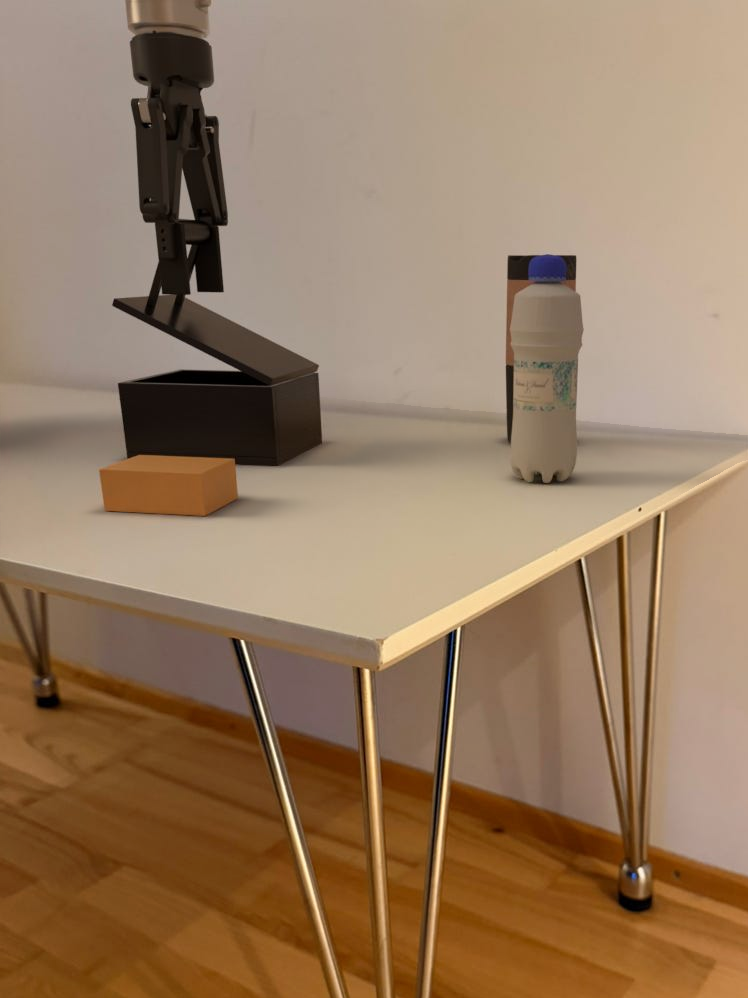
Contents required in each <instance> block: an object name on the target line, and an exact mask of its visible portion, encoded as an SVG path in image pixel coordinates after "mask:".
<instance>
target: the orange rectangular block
mask: <svg viewBox="0 0 748 998" xmlns="http://www.w3.org/2000/svg"><path fill="white" fill-rule="evenodd" d="M98 472H99V479H100V487H101V494H102V495H101V496H102V501H103V508H104V511H105V512H119V513H120V512H121V513H142V514H161V515H180V516H196V517H197V516H200V517H206V516H208V515H210V514H211V513H213V512H215V511H217V510H219V509H221V508H223V507H225V506H227V505H228V504H230V503H233V502H234V501H236V500H238V499H239V493H238V492H239V491H238V482H237V468H236V464H235V459H230V458H205V457H180V456H155V455H137V456H135V457H132V458H129V459H127V458H126V459H123V460H120V461H118V462H115V463H113V464H110V465H107V466H104V467H102V468H101V467H100V468H98Z"/></svg>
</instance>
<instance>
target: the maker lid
mask: <svg viewBox="0 0 748 998" xmlns="http://www.w3.org/2000/svg"><path fill="white" fill-rule="evenodd" d="M175 224H184V228H185V239H186V246H190V247H189V248H190V249H189V251H188V254H187V260H188V270H189V281H190V282H191V279H192V275H193V272H194V270H195V262H196V259H197V256H198V252H199V249H200V246H201V245H206V244H208V243H209V242H210V241H211V239H212V229H211V227H210V225H209V224H208V223H207V222H205V221H201V220H195V219H188V218H179V220H178V222H177V223H175ZM149 290H150V291H149V294H148V295H146V296H131V297H115V298H113V301H112V304H111V306H112V307H114V308H115V309H118V310H119V311H121V312H123V313H124V314H125V313H126V314H127V315H129V316H131V317H133V318H135V319H137V320H139V321H141V322H143V323H146V324H147V325H148V326H151V327H153V328H155V329H157V330H159V331H160V332H162V333H164V334H167V335H169V336H171V337H172V338H175V339H176V340H178V341H180V342H182V343H184V344H187V345H189V346H190V347H192V348H195V349H197V350H198V351H199V352H202V353H204V354H206V355H208V356H210V357H213V358H214V359H216V360H218V361H220V362H222V363H224V364H226V365H228V366H230V367H232V368H234V369H235V370H237V371H242V372H244V373H246V374H248V375H250V376H252V377H254V378H256V379H258V380H260V381H262V382H264V383H265V384H267V385H269V386H271V385H274V384H277V383H281V382H284V381H287V380H290V379H294V378H297V377H300V376H304V375H307V374H310V373H318V370H319V367H320V365H319V364H318V363H317V362H314V361H312V360H310V359H308V358H306V357H304V356H302V355H301V354H298V353H296V352H294V351H292V350H291V349H289V348H286V347H284V346H283V345H281V344H278V343H277V342H275V341H272V340H270V339H268V338H266V337H264V336H262V335H261V334H259V333H257V332H254V331H253V330H251V329H249V328H247V327H245V326H243V325H241V324H239V323H238V322H235V321H233V320H231V319H229V318H227V317H225V316H223V315H221V314H219V313H217V312H215V311H213V310H212V309H209V308H207V307H205V306H203V305H201V304H199V303H197V302H195V301H193V300H191V299H189V298H188V297H186V295H170V294H160V292H161V290H162V288H161V278H160V268H159V261H158V262H157V265H156V269H155V273H154V276H153V280H152V284H151V286H150V289H149Z"/></svg>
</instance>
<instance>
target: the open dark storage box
mask: <svg viewBox="0 0 748 998" xmlns="http://www.w3.org/2000/svg"><path fill="white" fill-rule="evenodd" d="M117 389H118V396H119V397H118V398H119V404H120V411H121V412H120V413H121V419H122V420H121V421H122V428H123V435H124V443H125V451H126V459H129V458H132V457H135V456H137V455H155V456H180V457H205V458H230V459H235V465H248V466H249V465H250V466H251V465H252V466H272V467H274V466H275V467H277V466H279V465H281V464H283V463H285V462H288V461H289V460H291V459H294V458H295V457H297V456H299V455H301V454H303V453H305V452H307V451H309V450H311V449H313V448H315V447H317V446H319V445H321V444H323V431H322V429H323V428H322V415H321V414H322V411H321V395H320V393H321V392H320V377H319V372H314V373H310V374H307V375H304V376H300V377H297V378H294V379H290V380H287V381H284V382H281V383H277V384H274V385H271V386H269V385H267V384H265V383H264V382H262V381H260V380H258V379H256V378H254V377H252V376H250V375H248V374H246V373H244V372H242V371H240V370H224V369H223V370H220V369H219V370H217V369H175V370H172V371H166V372H161V373H157V374H153V375H148V376H143V377H139V378H135V379H130V380H129V379H128V380H126V381H121V382H117Z"/></svg>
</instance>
